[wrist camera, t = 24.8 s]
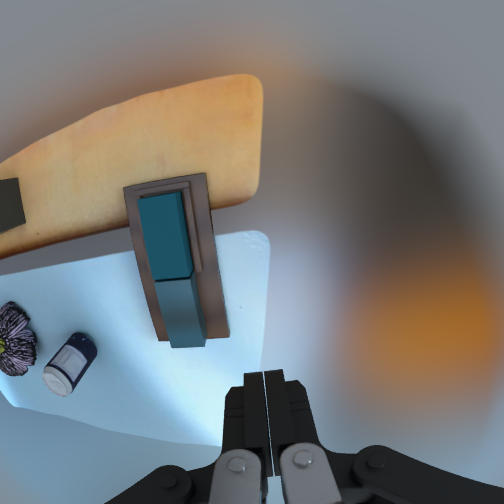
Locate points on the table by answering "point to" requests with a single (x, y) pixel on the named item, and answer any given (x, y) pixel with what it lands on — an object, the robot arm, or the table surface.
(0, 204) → the pad stand
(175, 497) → the robot arm
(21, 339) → the decorative flower
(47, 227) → the table surface
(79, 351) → the beverage can
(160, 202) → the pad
